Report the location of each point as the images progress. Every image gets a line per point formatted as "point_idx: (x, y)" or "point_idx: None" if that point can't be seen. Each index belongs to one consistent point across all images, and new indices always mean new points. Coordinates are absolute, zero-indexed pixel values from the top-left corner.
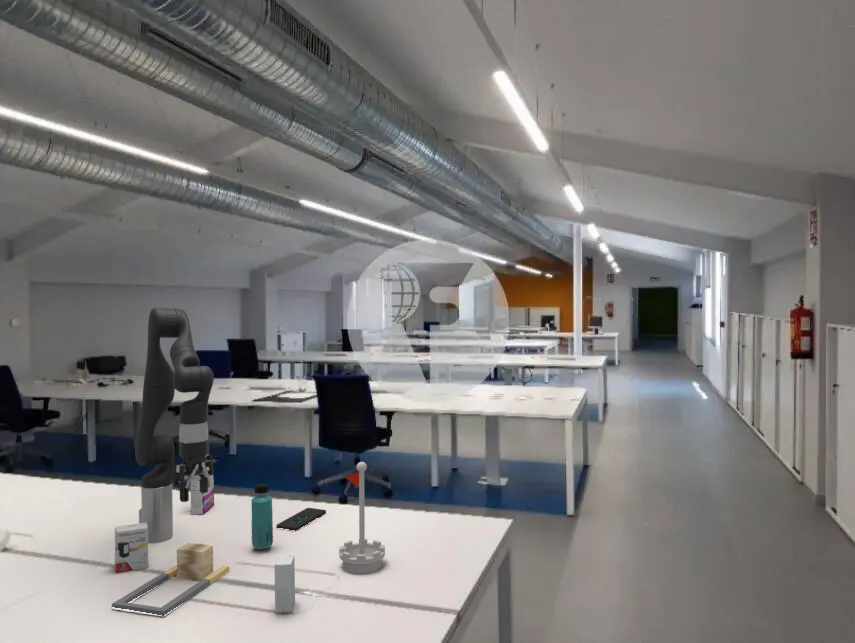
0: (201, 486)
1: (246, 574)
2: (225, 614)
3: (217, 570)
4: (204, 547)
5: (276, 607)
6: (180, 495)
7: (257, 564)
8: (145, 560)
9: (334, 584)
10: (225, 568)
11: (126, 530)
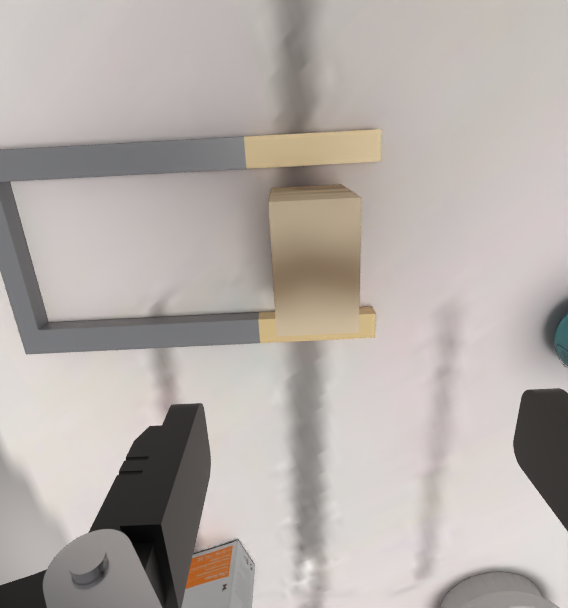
0: (565, 452)
1: (365, 389)
2: None
3: None
4: (327, 312)
5: None
6: (122, 476)
7: (446, 378)
8: None
9: (366, 596)
10: (353, 337)
11: None
